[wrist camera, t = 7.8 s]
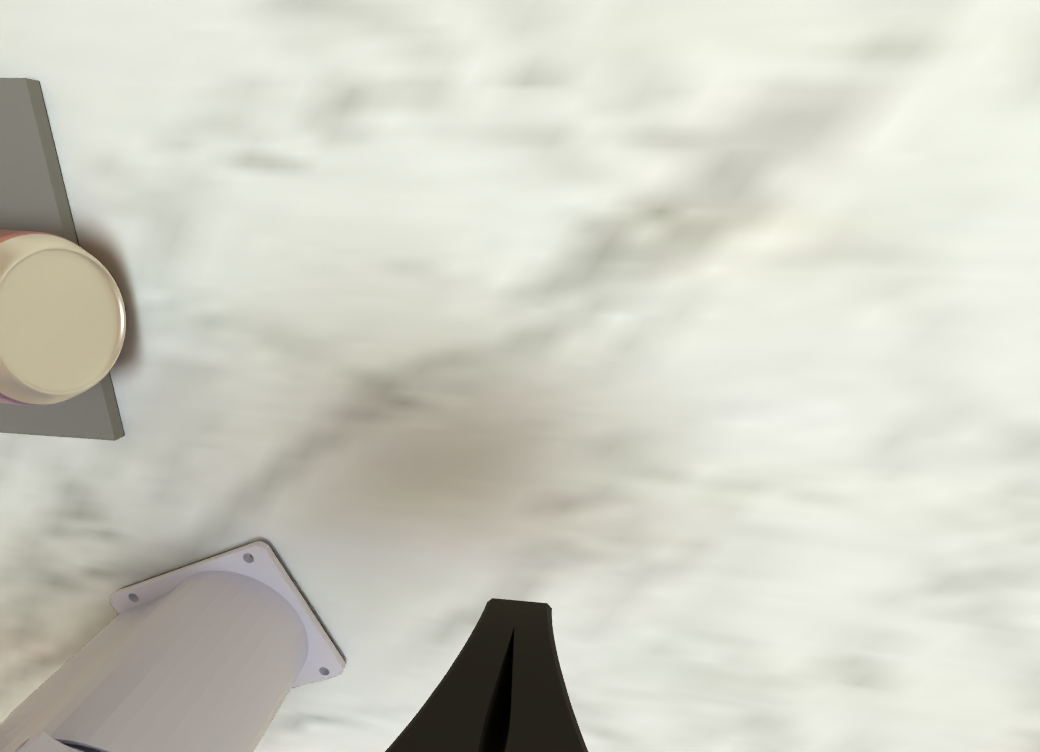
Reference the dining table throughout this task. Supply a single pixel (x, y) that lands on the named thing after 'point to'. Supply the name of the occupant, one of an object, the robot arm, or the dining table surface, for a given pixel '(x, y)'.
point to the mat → (44, 208)
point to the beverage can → (54, 319)
